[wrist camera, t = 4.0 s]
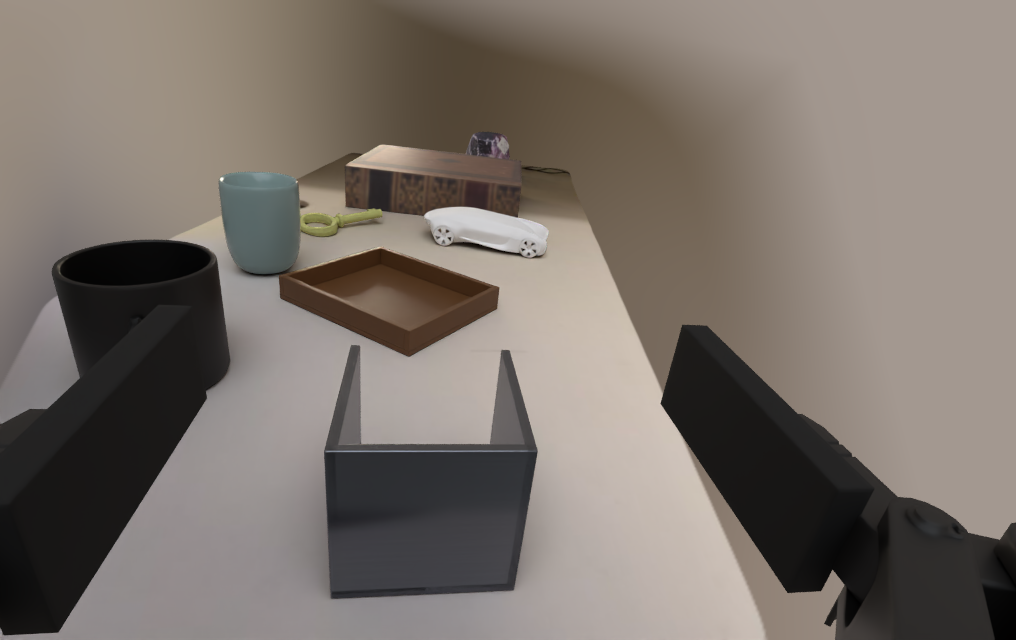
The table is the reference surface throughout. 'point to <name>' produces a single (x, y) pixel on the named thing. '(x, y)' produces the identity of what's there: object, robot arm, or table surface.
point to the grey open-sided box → (427, 502)
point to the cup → (261, 220)
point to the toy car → (487, 230)
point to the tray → (390, 297)
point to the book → (431, 181)
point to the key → (334, 221)
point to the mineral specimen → (489, 145)
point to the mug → (140, 296)
